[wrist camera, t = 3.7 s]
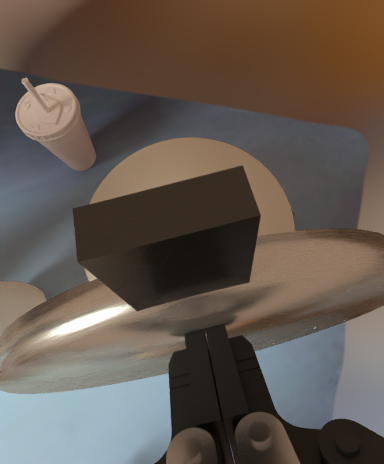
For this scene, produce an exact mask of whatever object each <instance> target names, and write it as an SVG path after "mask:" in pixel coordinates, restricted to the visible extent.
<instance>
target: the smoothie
mask: <svg viewBox="0 0 384 464" xmlns="http://www.w3.org/2000/svg"><path fill="white" fill-rule="evenodd" d="M22 83H23V84H24V86H25V87H26V88H27V90H28V92H27V93H26V94H25V95H24V96H23V97H22V98H21V100H20V101H19V103H18V105H17V108H16V113H15V116H16V121H17V124H18V126H19V127H20V128H21V129H22V131H23V132H24V133H25V134H26V136H28V137H30V138H31V139H34V140H37V141H39V142H40V143H41V144H42V145H44V146H45V147H46V148H47V149H48V150H50V151H51V152H52V153H53V154H55V155H56V156H57V157H58V158H60V159H61V160H62V161H63V162H64V163H66V164H67V165H68V166H69V167H71V168H72V169H73V170H76V171H84V170H87V169H89V168H90V167H91V166H92V165H93V164H94V163H95V160H96V152H95V150H94V147H93V145H92V142H91V140H90V137H89V135H88V132H87V130H86V127H85V124H84V122H83V119H82V117H81V114H80V104H79V102H78V100H77V98H76V97H75V96H74V94H73V92H72V91H71V90H70V89H69V88H67V87H65V86H63V85H60V84H55V83H48V84H43V85H39V86H37V87H35V88H34V87H33V86H32V85H31V83H30V82H29V81H28V79H27V78H23V79H22Z"/></svg>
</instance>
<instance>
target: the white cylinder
mask: <svg viewBox="0 0 384 464" xmlns="http://www.w3.org/2000/svg"><path fill="white" fill-rule="evenodd" d="M242 165H243V167H244V170H245V173H246V175H247V178H248V181H249V184H250V186H251V189H252V192H253V195H254V197H255V200H256V203H257V206H258V209H259V211H260V214H261V218H260V224H259V230H258V235H257V236H261V235H267V234H275V233H284V232H292V231H295V225H294V219H293V216H294V213H293V211H292V210H291V207H290V204H289V201H288V199H287V197H286V195H285V192H284V191H283V189H282V187H281V186H280V184H279V183H278V181H277V180H276V178H275V177H274V176H273V175H272V173H271V172H270V171H269V170H268V169H267V168H266V167H265V166H264V165H263V164H262V163H261V162H259V161H258V160H257V159H255V158H254V157H253V156H251V155H250V154H248V153H246V152H245V151H243V150H241V149H239V148H237V147H235V146H232V145H230V144H227V143H224V142H220V141H217V140H212V139H206V138H191V137H188V138H176V139H170V140H165V141H161V142H158V143H155V144H152V145H149V146H147V147H145V148H143V149H140V150H139V151H137V152H135V153H133V154H132V155H130V156H128V157H127V158H126V159H124V160H123V161H122V162H120V163H119V164H118V165H117V166H116V167H115V168H114V169H113V170H112V171H111V172H110V173H109V174H108V175H107V176H106V177H105V178H104V180H103V181H102V182H101V183H100V185H99V187H98V188H97V190H96V191H95V193H94V195H93V197H92V199H91V201H90V203H89V204H93V203H97V202H101V201H105V200H109V199H113V198H117V197H121V196H125V195H128V194H132V193H136V192H140V191H144V190H148V189H152V188H156V187H160V186H164V185H168V184H171V183H175V182H179V181H183V180H187V179H191V178H195V177H199V176H203V175H207V174H211V173H214V172H218V171H222V170H226V169H230V168H234V167H238V166H242ZM84 269H85V268H84ZM85 272H86V275H87V278H88V280H89V282H90V281H92V280H95V279H97V278H96V277H95V276H94V275H93V274H91V273H90V272H89V271H88V270H87V269H85Z"/></svg>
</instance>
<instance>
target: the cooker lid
mask: <svg viewBox="0 0 384 464" xmlns="http://www.w3.org/2000/svg"><path fill="white" fill-rule="evenodd" d="M73 216H74V227H75V237H76V248H77V258H78V263H79V264H81V265H82V266H83V267H84V268H85V269H87V270H88V271H89V272H90V273H91V274H93V275H94V276H95V277H96V278H97V279H95V280H92V281H90V282H88V283H85V284H83V285H80V286H78V287H75V288H73V289H70V290H68V291H66V292H64V293H62V294H60V295H58V296H56V297H54V298H52V299H49V300H47V301H45V302H43V303H41V304H39V305H38V306H36V307H34V308H33V309H31V310H30V311H28V312H27V313H25V314H23V315H22V316H20V317H19V318H17V319H16V320H15V321H14V322H13V323H12V324H10V325H9V326H8V327H7V328H6V329H5V330H4V332H3V333H2V335H1V336H0V390H2V391H5V392H8V393H17V394H38V393H52V392H63V391H71V390H79V389H86V388H93V387H99V386H105V385H111V384H117V383H122V382H128V381H133V380H138V379H143V378H148V377H153V376H157V375H162V374H167V373H169V367H168V364H169V362H170V359H171V357H172V354H173V352H175V351H179V350H183V349H186V344H185V334H186V333H190V332H194V331H198V330H202V329H204V331H205V335H206V328H210V327H214V326H218V325H222V324H225V327H226V331H227V335H228V338H232V337H236V336H240V335H243V336H244V337H245V338H246V339H247V340H248V341H249V342H250V343H251V344H252V346H253V349H254V351H257V350H261V349H264V348H268V347H271V346H274V345H278V344H281V343H284V342H287V341H291V340H294V339H297V338H300V337H303V336H306V335H309V334H312V333H315V332H318V331H321V330H324V329H327V328H330V327H332V326H335V325H338V324H341V323H343V322H346V321H348V320H351V319H353V318H356V317H358V316H361V315H363V314H366V313H368V312H371V311H373V310H375V309H377V308H379V307H381V306H384V235H383V234H380V233H377V232H371V231H365V230H358V229H316V230H301V231H292V232H284V233H275V234H267V235H261V236H257V235H258V230H259V224H260V218H261V214H260V211H259V209H258V206H257V203H256V200H255V197H254V195H253V192H252V189H251V186H250V184H249V181H248V178H247V175H246V173H245V170H244V167H243V165H242V166H238V167H234V168H230V169H226V170H222V171H218V172H214V173H211V174H207V175H203V176H199V177H195V178H191V179H187V180H183V181H179V182H175V183H171V184H168V185H164V186H160V187H156V188H152V189H148V190H144V191H140V192H136V193H132V194H128V195H125V196H121V197H117V198H113V199H109V200H105V201H101V202H97V203H93V204H89V205H85V206H82V207H78V208H74V209H73ZM206 338H207V335H206ZM207 342H208V340H207ZM208 346H209V345H208Z"/></svg>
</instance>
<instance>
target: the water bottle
mask: <svg viewBox="0 0 384 464" xmlns="http://www.w3.org/2000/svg"><path fill="white" fill-rule="evenodd" d="M45 301H47V299H46V296H45V294H44V293H43V292H42V291H41V290H40V289H38V288H36V287H34V286H32V285H29V284H27V283H23V282H19V281H11V282H4V281H0V336H1V335H2V333H3V332H4V330H5V329H6V328H7V327H8V326H9V325H10V324H12V323H13V322H14V321H15V320H16V319H17V318H19V317H20V316H22V315H23V314H25V313H27V312H28V311H30V310H31V309H33V308H34V307H36V306H38V305H39V304H41V303H43V302H45Z"/></svg>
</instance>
